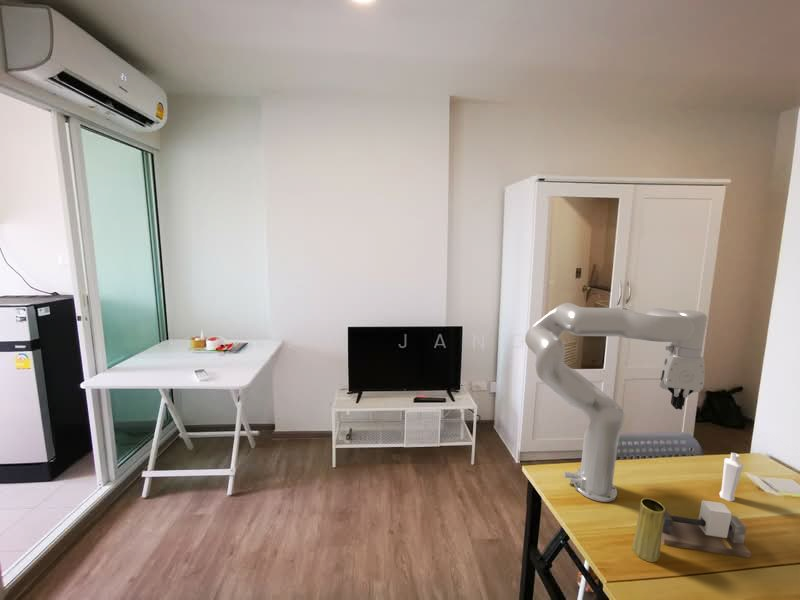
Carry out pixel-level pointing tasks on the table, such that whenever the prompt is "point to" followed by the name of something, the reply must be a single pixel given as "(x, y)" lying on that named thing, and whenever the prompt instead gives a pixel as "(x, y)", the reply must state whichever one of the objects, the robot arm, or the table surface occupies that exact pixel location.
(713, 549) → the linear slide rail
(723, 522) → the notched white rod block
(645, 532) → the vase
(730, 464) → the perfume bottle
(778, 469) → the table surface
